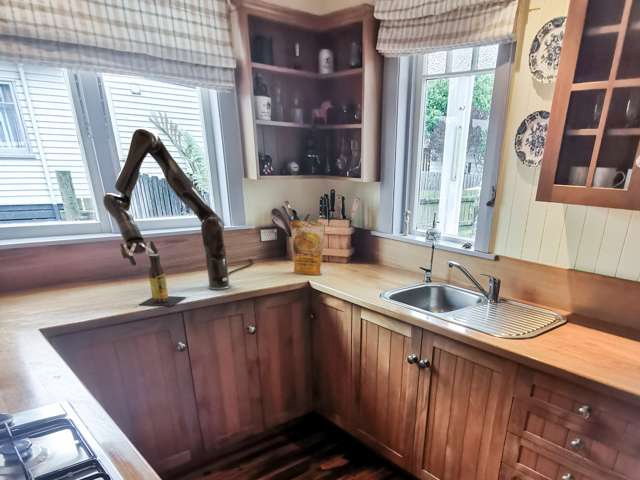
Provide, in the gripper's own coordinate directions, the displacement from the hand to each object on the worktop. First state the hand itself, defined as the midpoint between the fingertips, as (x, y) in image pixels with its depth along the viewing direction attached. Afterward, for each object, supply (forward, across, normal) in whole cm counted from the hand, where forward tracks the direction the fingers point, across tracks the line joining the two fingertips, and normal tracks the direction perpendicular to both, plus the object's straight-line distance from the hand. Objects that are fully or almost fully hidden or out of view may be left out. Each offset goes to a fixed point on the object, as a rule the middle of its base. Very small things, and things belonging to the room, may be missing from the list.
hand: (145, 263), depth 203 cm
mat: (+18, +1, +3) cm, 18 cm away
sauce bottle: (+18, 0, +3) cm, 18 cm away
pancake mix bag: (+14, +84, +8) cm, 86 cm away
